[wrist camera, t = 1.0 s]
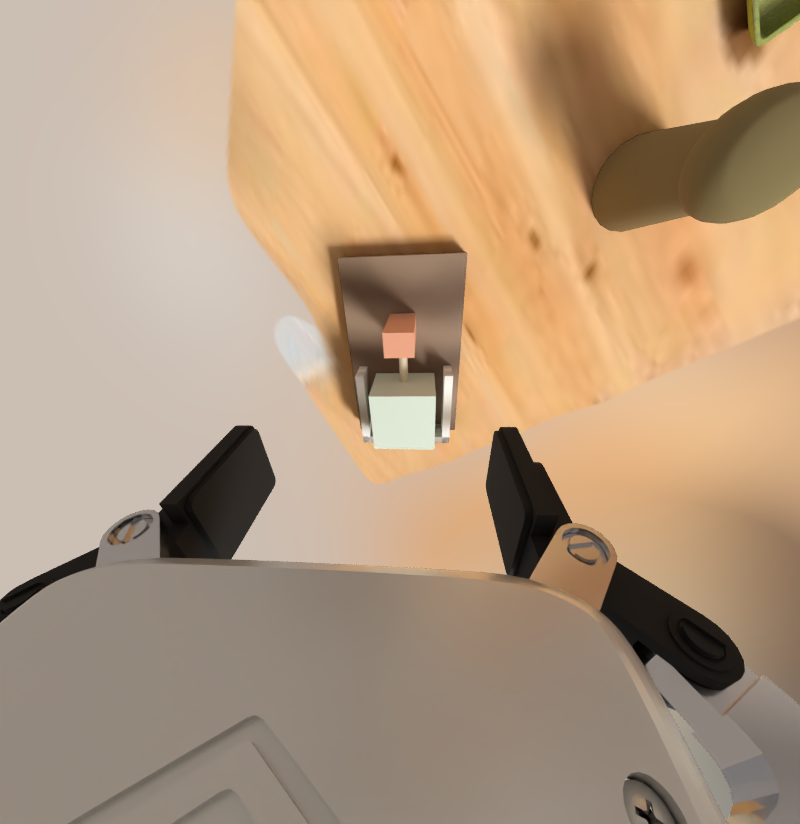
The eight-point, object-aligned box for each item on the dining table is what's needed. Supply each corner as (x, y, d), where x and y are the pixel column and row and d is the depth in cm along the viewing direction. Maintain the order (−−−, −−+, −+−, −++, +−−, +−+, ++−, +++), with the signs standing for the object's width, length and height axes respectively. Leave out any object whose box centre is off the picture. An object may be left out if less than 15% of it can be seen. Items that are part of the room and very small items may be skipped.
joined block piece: (370, 314, 27) (358, 333, 22) (435, 312, 27) (438, 332, 21) (380, 421, 33) (372, 455, 28) (433, 421, 33) (434, 456, 28)
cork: (574, 200, 23) (677, 180, 14) (646, 109, 20) (839, 5, 11) (624, 248, 24) (748, 259, 15) (698, 169, 21) (908, 122, 12)
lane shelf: (341, 257, 26) (329, 260, 23) (465, 251, 25) (471, 255, 22) (363, 422, 36) (356, 442, 32) (453, 422, 35) (456, 443, 31)
